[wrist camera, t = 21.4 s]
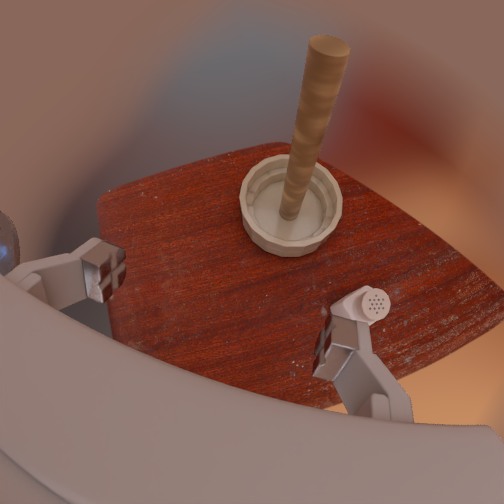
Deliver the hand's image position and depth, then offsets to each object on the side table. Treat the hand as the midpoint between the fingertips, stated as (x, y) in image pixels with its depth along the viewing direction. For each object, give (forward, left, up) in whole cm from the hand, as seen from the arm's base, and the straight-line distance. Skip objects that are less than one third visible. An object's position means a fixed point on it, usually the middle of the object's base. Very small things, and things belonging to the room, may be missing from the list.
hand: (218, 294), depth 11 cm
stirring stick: (-2, +15, -25) cm, 30 cm away
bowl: (-2, +15, -26) cm, 30 cm away
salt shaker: (+11, +7, -26) cm, 29 cm away
